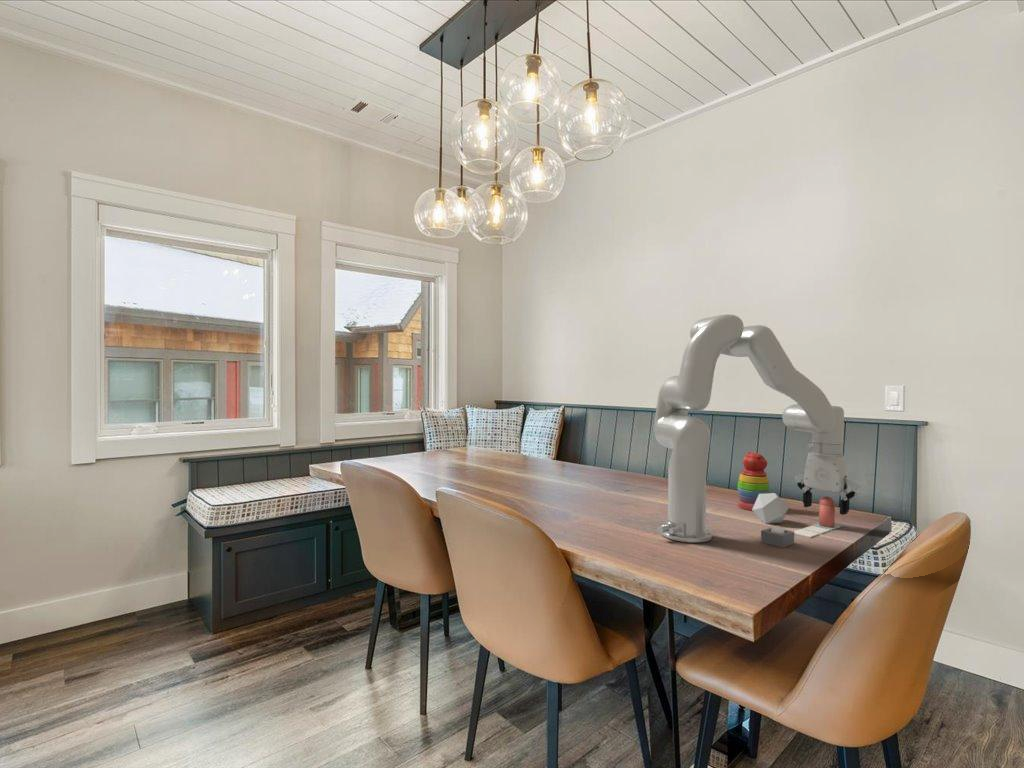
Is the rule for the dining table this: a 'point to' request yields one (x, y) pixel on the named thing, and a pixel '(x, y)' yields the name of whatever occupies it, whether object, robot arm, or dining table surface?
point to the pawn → (827, 512)
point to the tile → (826, 527)
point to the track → (810, 531)
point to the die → (770, 508)
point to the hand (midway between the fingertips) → (825, 510)
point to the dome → (777, 530)
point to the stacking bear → (752, 480)
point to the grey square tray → (777, 538)
